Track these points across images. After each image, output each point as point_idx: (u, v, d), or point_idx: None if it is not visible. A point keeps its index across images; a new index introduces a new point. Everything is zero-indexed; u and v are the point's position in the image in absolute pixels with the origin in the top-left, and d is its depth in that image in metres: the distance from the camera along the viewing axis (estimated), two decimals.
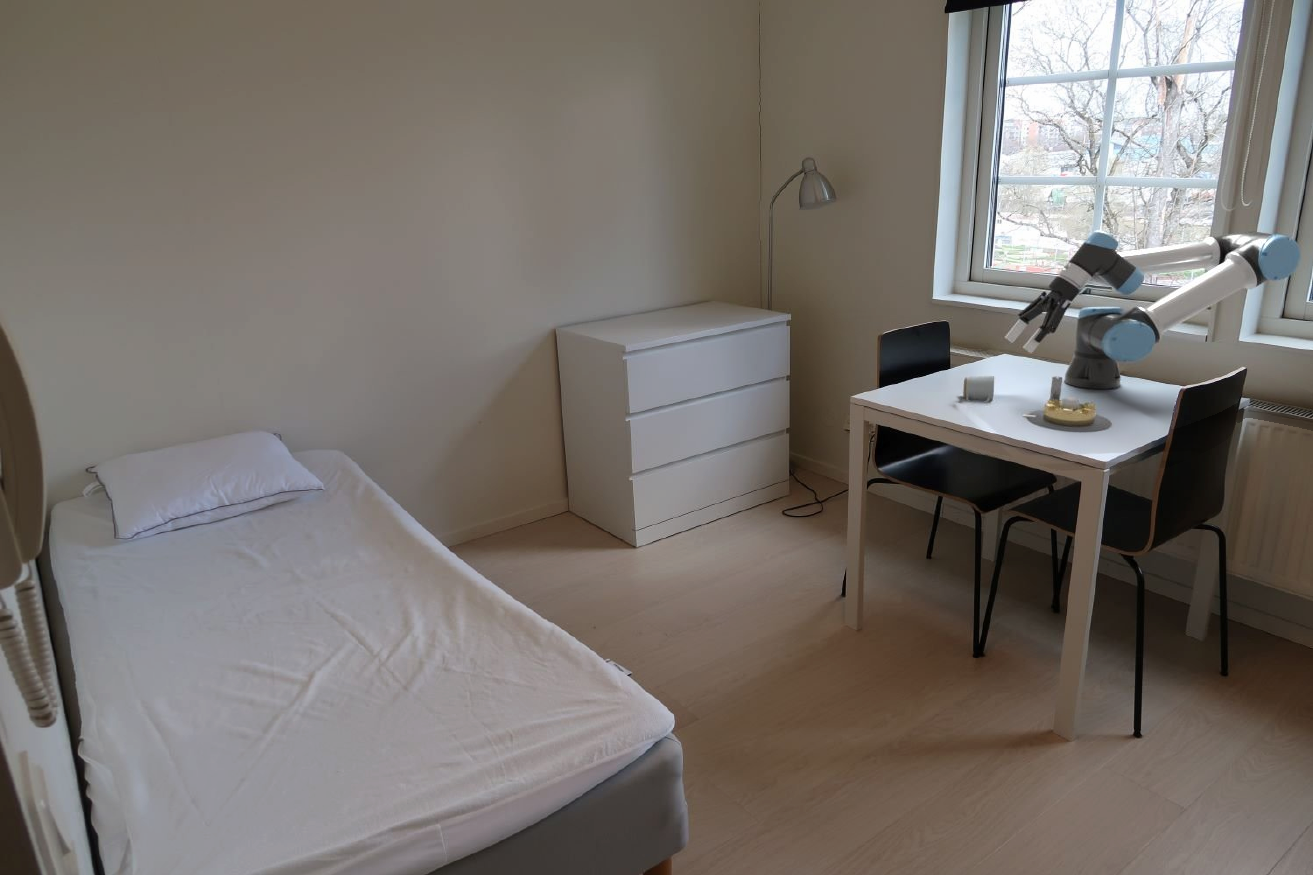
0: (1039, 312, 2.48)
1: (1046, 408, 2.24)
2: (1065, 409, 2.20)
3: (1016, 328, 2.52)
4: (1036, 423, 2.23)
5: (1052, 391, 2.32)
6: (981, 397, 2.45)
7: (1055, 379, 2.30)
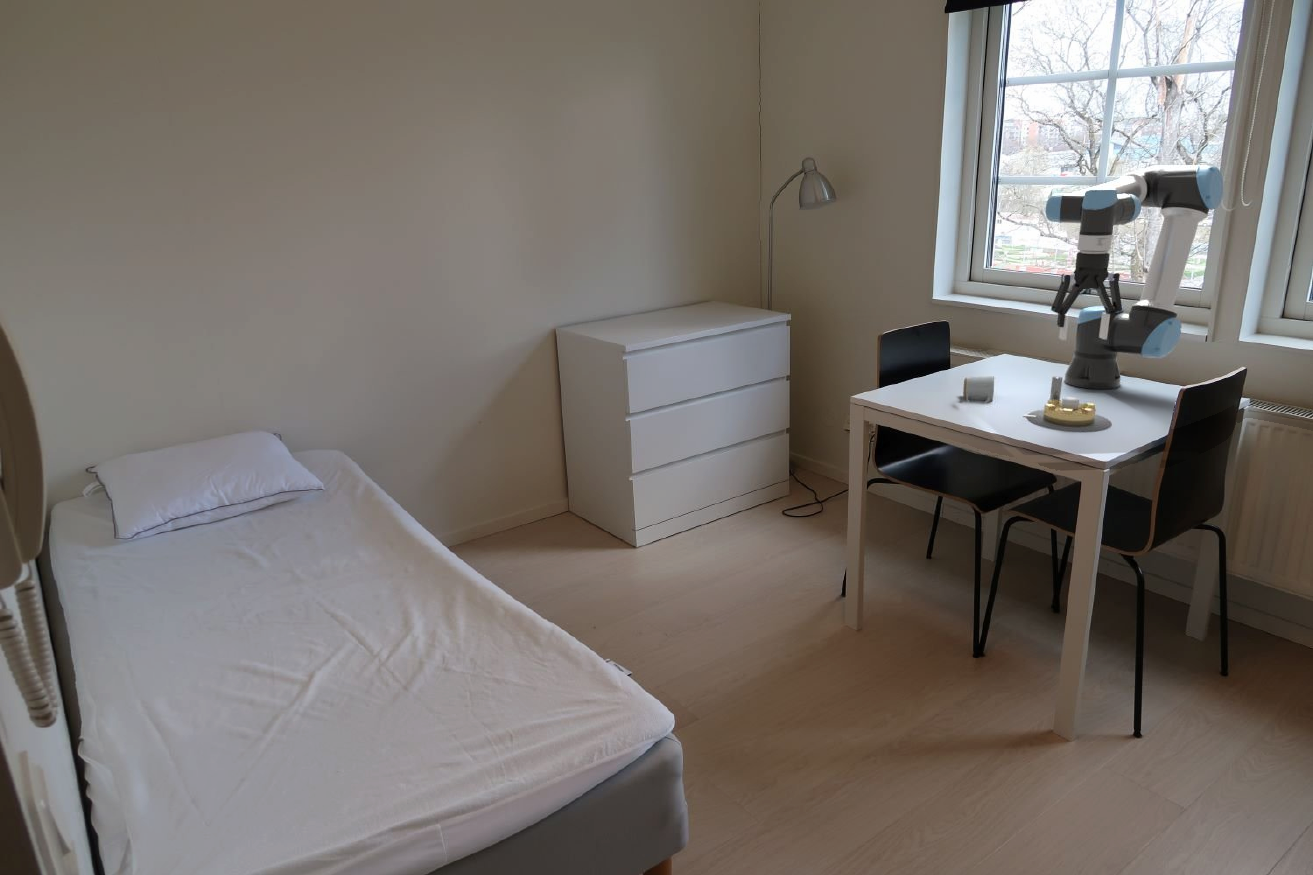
0: None
1: (1046, 408, 2.24)
2: (1065, 409, 2.20)
3: None
4: (1036, 423, 2.23)
5: (1052, 391, 2.32)
6: (981, 397, 2.45)
7: (1055, 379, 2.30)
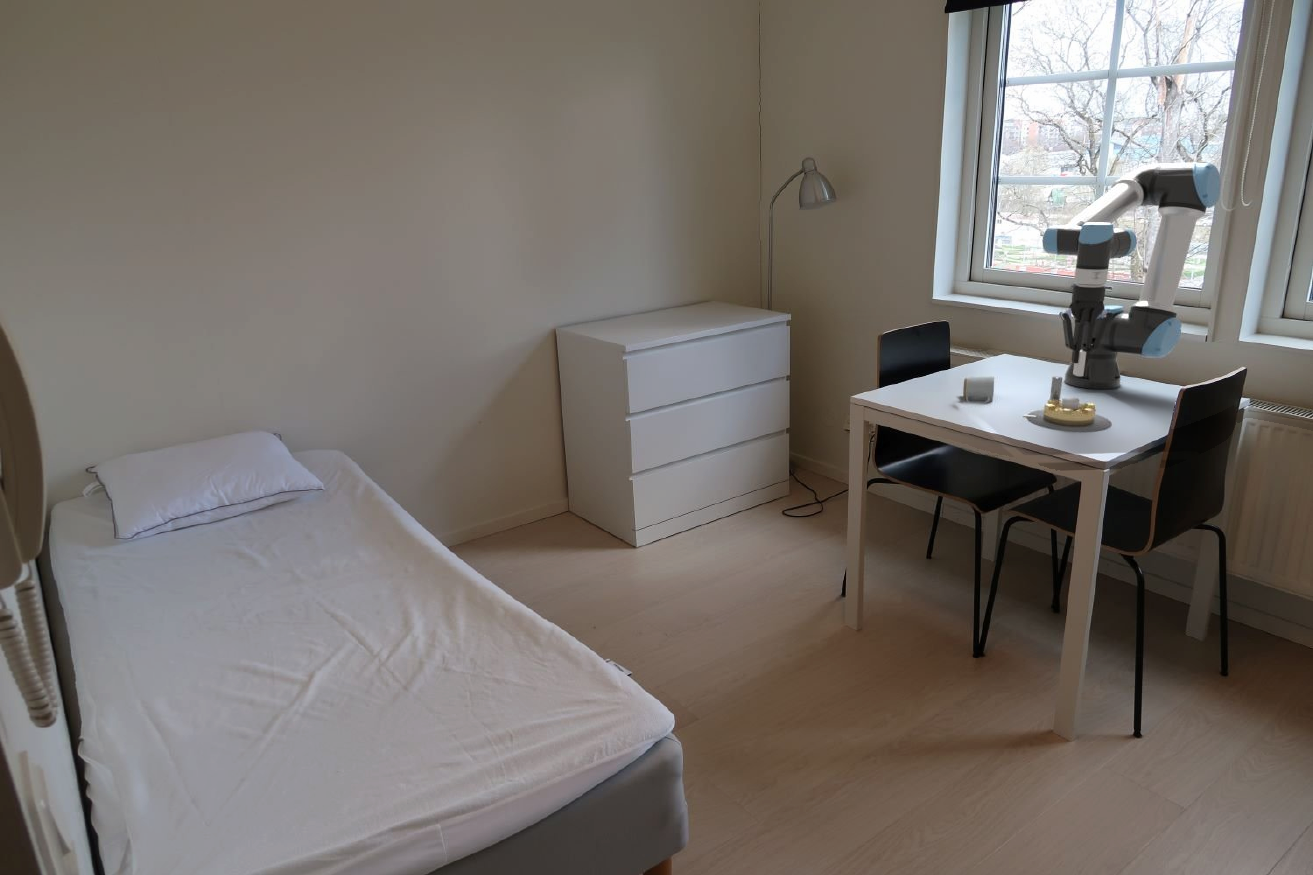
0: None
1: (1046, 408, 2.24)
2: (1065, 409, 2.20)
3: None
4: (1036, 423, 2.23)
5: (1052, 391, 2.32)
6: (981, 398, 2.44)
7: (1055, 379, 2.30)
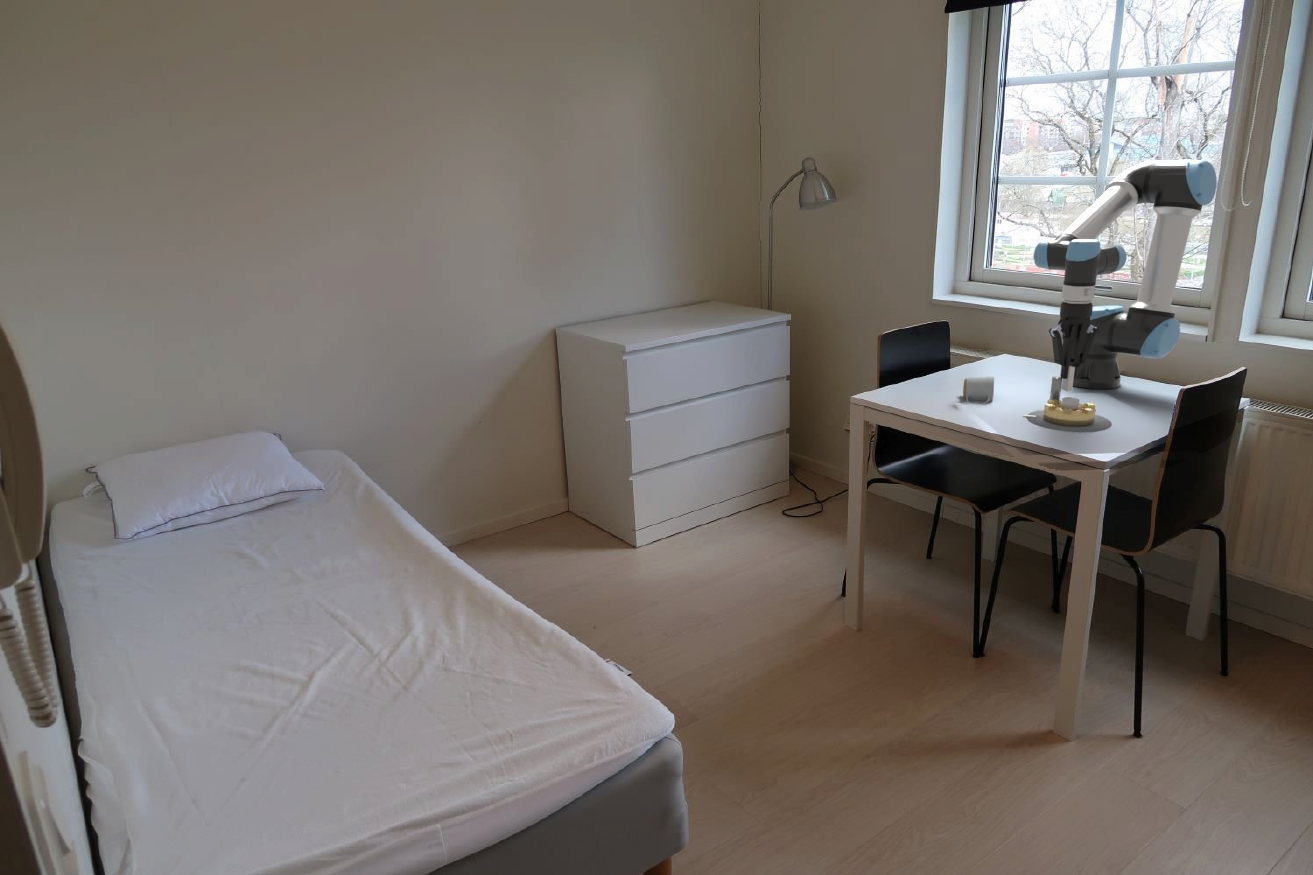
0: None
1: (1046, 408, 2.24)
2: (1065, 409, 2.20)
3: None
4: (1036, 423, 2.23)
5: (1052, 391, 2.32)
6: (981, 398, 2.44)
7: (1055, 379, 2.30)
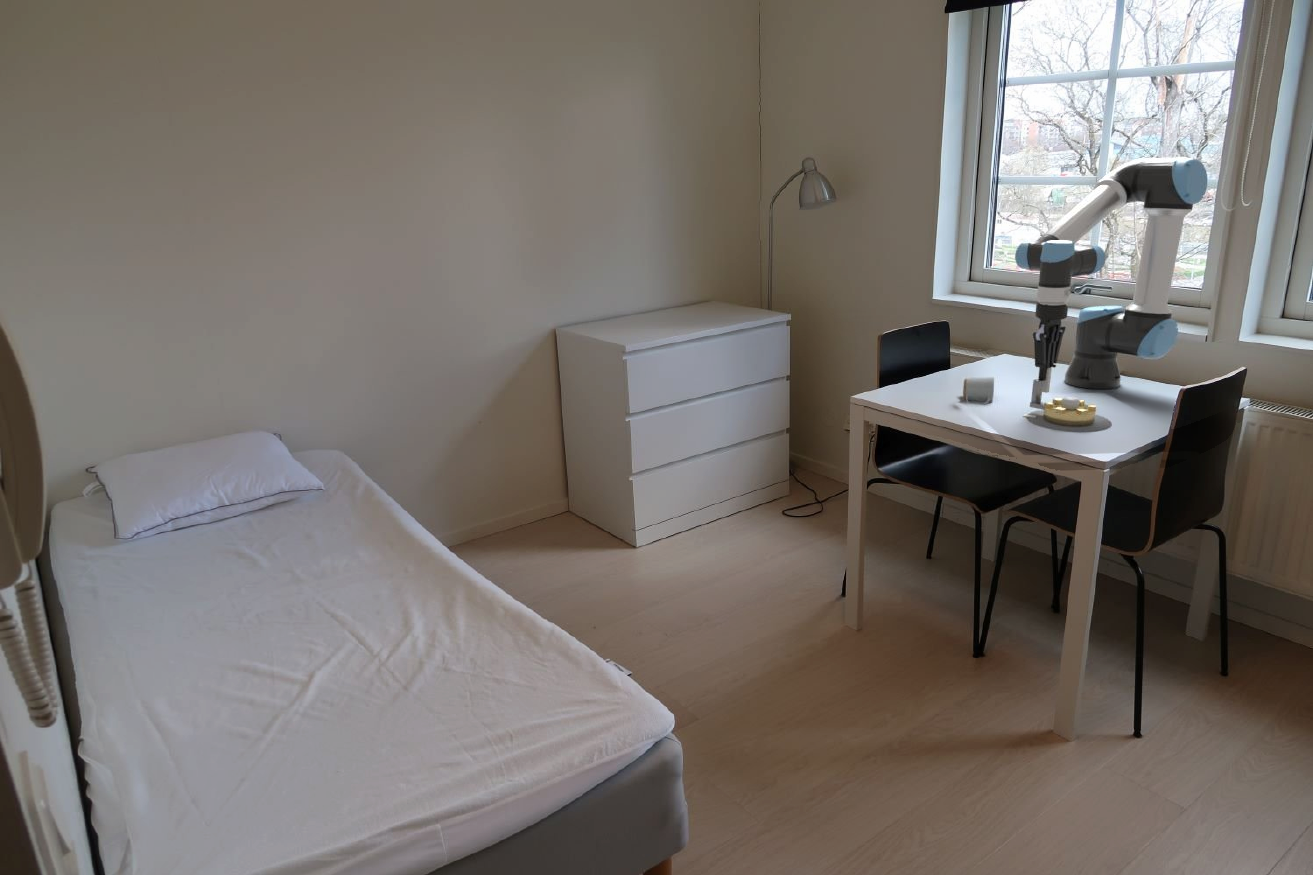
0: None
1: (1058, 412, 2.21)
2: (1081, 410, 2.19)
3: None
4: (1036, 423, 2.23)
5: (1036, 394, 2.29)
6: (981, 398, 2.44)
7: (1039, 382, 2.28)
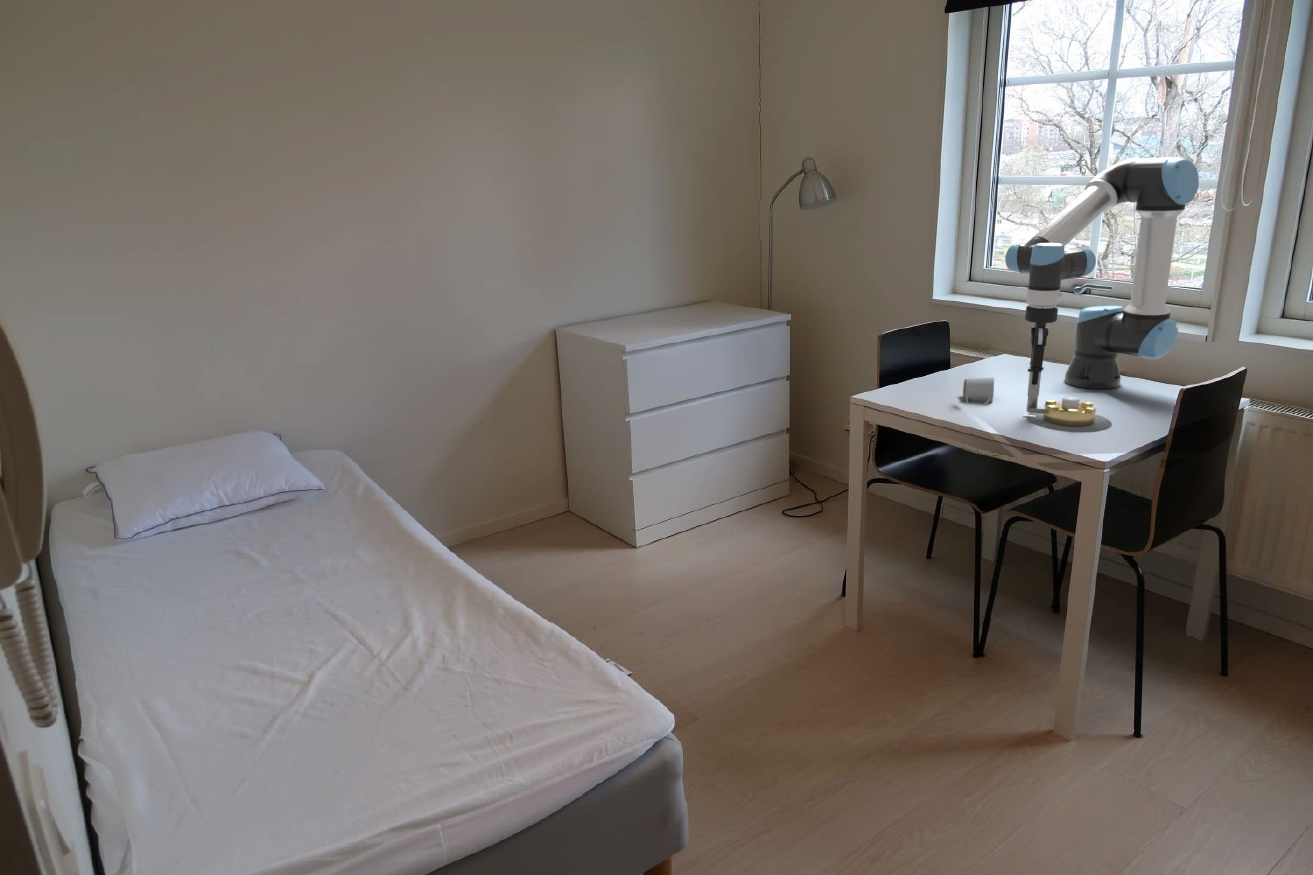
0: None
1: (1072, 414, 2.19)
2: (1089, 408, 2.20)
3: None
4: (1036, 423, 2.23)
5: (1035, 399, 2.25)
6: (981, 399, 2.43)
7: (1037, 386, 2.24)
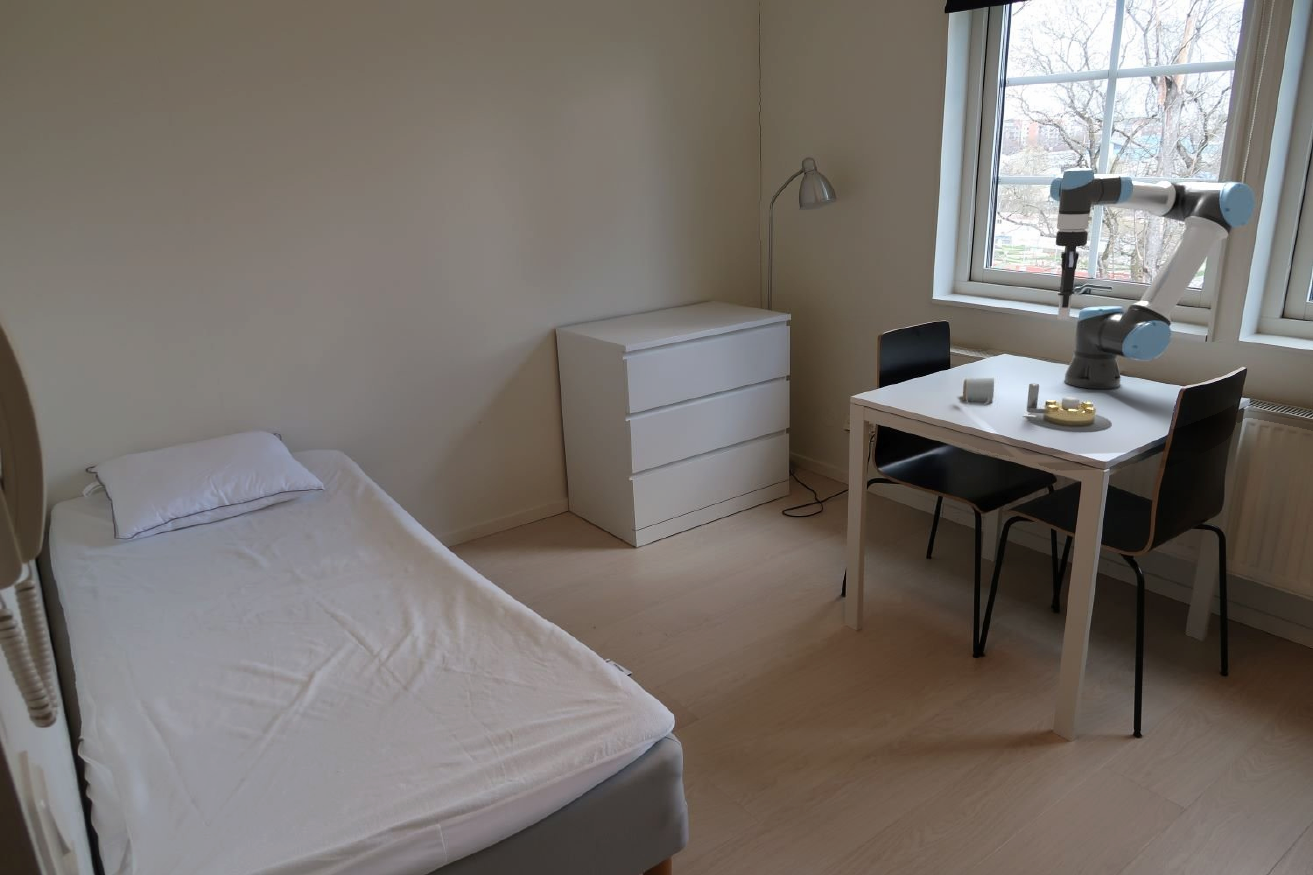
0: None
1: (1072, 414, 2.19)
2: (1089, 408, 2.20)
3: None
4: (1036, 423, 2.23)
5: (1035, 399, 2.25)
6: (981, 399, 2.43)
7: (1037, 386, 2.24)
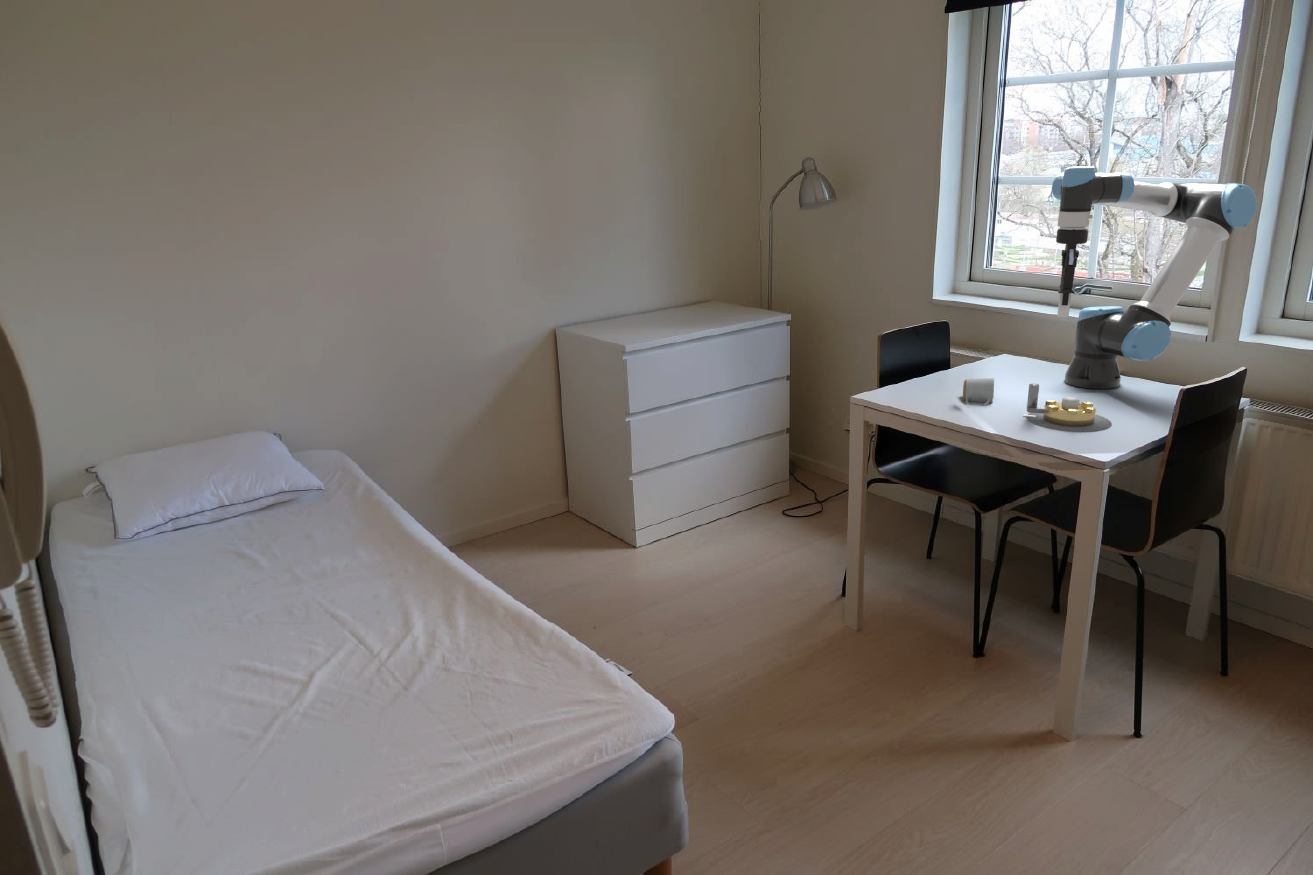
0: None
1: (1072, 414, 2.19)
2: (1089, 408, 2.20)
3: None
4: (1036, 423, 2.23)
5: (1035, 399, 2.25)
6: (981, 399, 2.43)
7: (1037, 386, 2.24)
